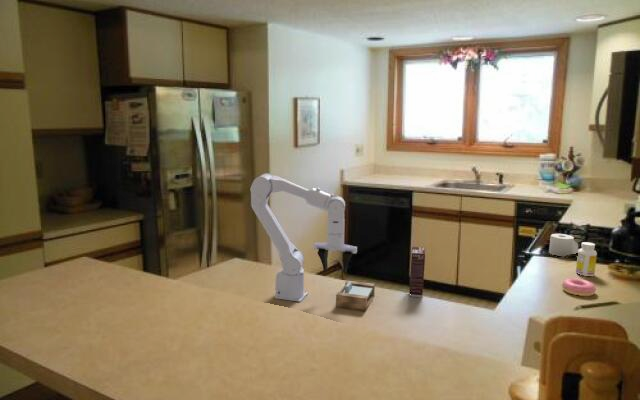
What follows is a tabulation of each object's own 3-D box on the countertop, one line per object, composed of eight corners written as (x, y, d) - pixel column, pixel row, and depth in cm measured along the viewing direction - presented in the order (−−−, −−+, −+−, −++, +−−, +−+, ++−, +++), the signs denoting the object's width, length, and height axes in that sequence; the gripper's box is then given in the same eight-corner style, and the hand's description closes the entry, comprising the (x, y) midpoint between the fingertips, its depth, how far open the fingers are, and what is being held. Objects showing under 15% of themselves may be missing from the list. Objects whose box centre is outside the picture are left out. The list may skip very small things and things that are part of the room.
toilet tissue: (583, 256, 219) (585, 237, 217) (558, 258, 216) (560, 239, 214) (568, 250, 227) (570, 232, 226) (544, 252, 224) (546, 234, 223)
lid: (340, 297, 160) (340, 289, 159) (349, 286, 170) (349, 277, 170) (365, 301, 157) (366, 292, 156) (373, 289, 168) (373, 280, 167)
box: (335, 307, 159) (336, 294, 158) (346, 292, 172) (347, 280, 172) (365, 311, 156) (366, 298, 155) (374, 295, 169) (374, 283, 168)
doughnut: (601, 294, 174) (603, 283, 173) (583, 300, 168) (585, 289, 168) (572, 284, 183) (574, 274, 182) (555, 290, 178) (556, 279, 177)
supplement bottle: (594, 273, 195) (598, 243, 193) (593, 278, 190) (597, 246, 187) (576, 270, 199) (579, 240, 197) (574, 275, 193) (578, 244, 191)
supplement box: (423, 298, 168) (425, 254, 165) (408, 296, 169) (411, 253, 166) (422, 289, 176) (425, 247, 173) (409, 287, 177) (411, 246, 174)
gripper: (311, 233, 161) (311, 272, 163) (353, 237, 156) (352, 277, 159) (318, 228, 167) (317, 266, 170) (359, 232, 163) (357, 270, 165)
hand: (335, 271), depth 165 cm, fingers open, 6 cm apart
